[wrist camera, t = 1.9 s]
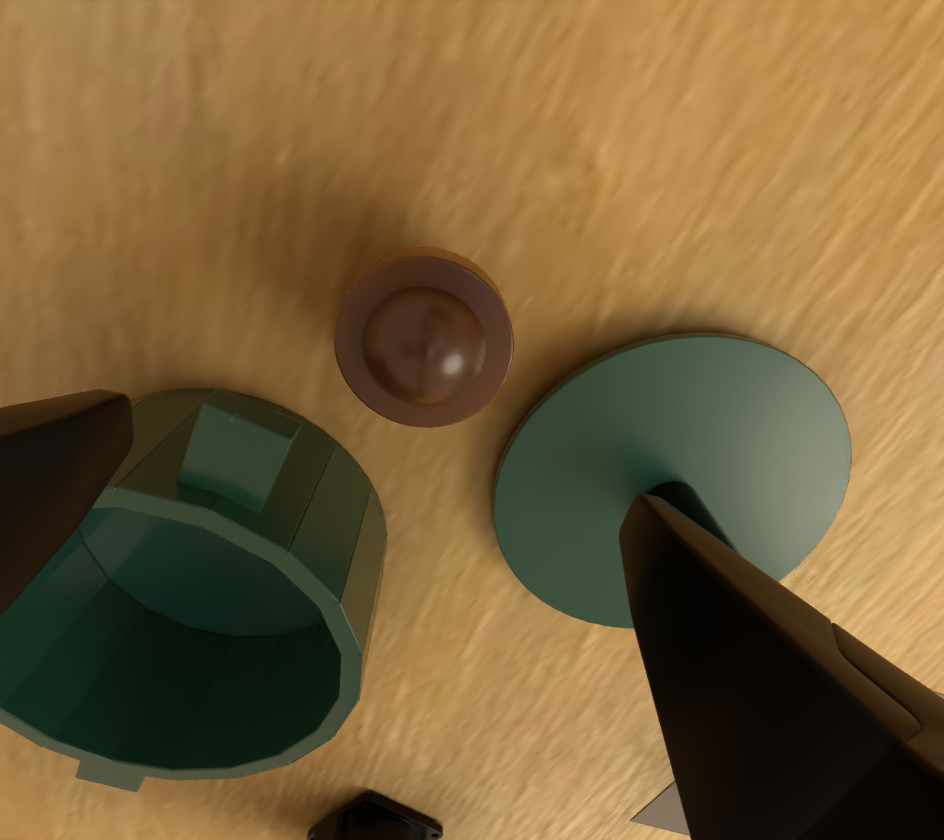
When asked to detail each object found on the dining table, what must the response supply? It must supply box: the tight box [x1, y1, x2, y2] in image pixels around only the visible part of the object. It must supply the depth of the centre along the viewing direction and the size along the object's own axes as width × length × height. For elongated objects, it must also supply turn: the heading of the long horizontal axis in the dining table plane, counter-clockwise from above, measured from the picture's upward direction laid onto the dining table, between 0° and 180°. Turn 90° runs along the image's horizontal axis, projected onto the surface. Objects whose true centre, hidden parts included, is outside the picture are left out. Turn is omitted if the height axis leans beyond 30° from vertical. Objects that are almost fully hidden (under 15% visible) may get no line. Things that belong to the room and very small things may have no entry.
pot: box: [0, 388, 387, 792], centre depth 19 cm, size 13×19×6 cm
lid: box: [492, 332, 852, 628], centre depth 19 cm, size 14×14×5 cm
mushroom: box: [334, 247, 514, 428], centre depth 16 cm, size 5×5×5 cm
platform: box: [631, 693, 944, 836], centre depth 28 cm, size 12×18×7 cm, turn 155°
